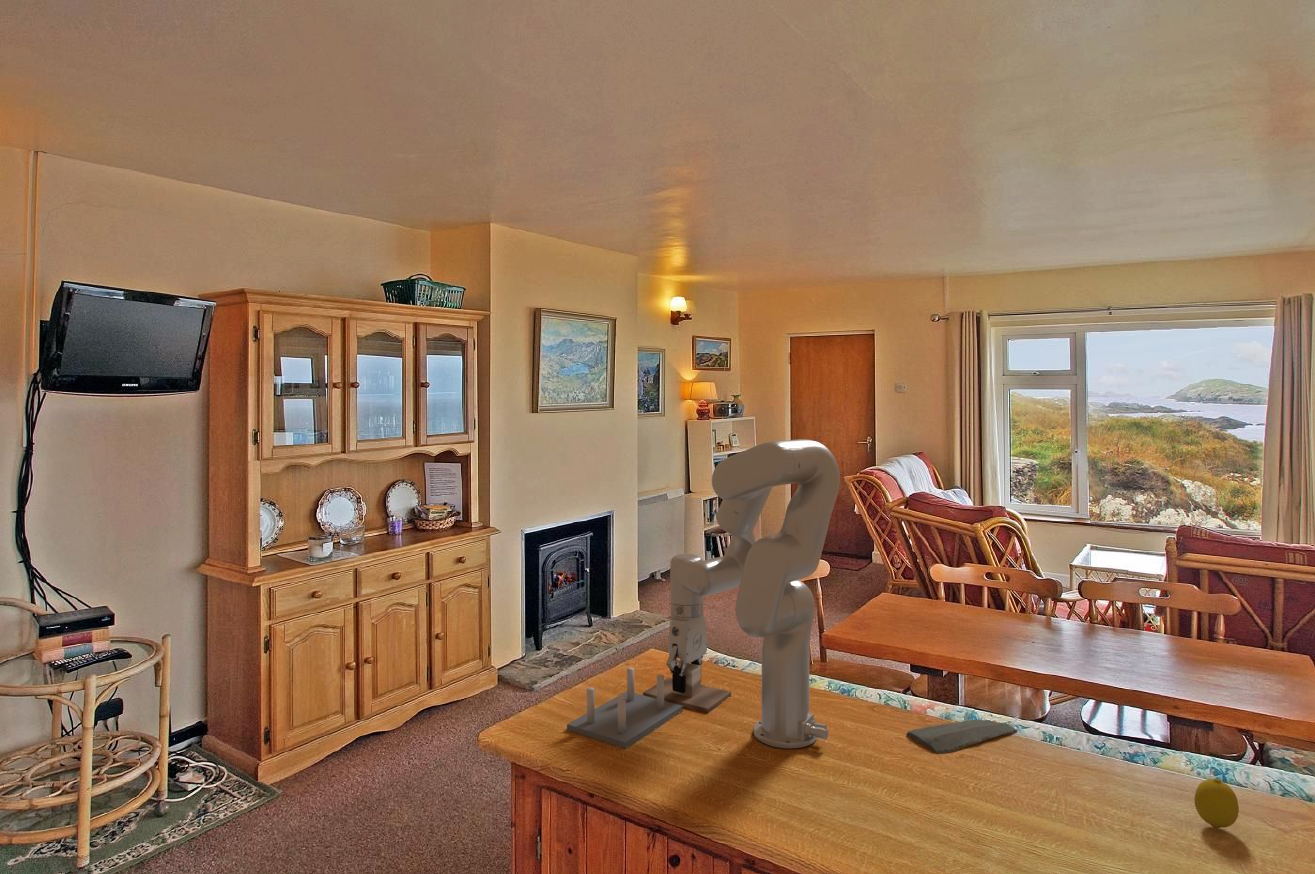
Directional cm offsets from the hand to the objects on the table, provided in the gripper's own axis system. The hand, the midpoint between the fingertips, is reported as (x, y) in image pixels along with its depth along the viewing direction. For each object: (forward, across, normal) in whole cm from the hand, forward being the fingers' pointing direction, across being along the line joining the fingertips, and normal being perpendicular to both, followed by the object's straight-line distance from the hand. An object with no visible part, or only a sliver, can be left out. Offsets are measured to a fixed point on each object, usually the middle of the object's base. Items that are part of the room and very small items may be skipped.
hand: (687, 685), depth 169 cm
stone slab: (+3, +14, -57) cm, 59 cm away
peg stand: (+2, -18, +4) cm, 19 cm away
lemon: (+3, +1, -97) cm, 97 cm away
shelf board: (+3, 0, 0) cm, 3 cm away
